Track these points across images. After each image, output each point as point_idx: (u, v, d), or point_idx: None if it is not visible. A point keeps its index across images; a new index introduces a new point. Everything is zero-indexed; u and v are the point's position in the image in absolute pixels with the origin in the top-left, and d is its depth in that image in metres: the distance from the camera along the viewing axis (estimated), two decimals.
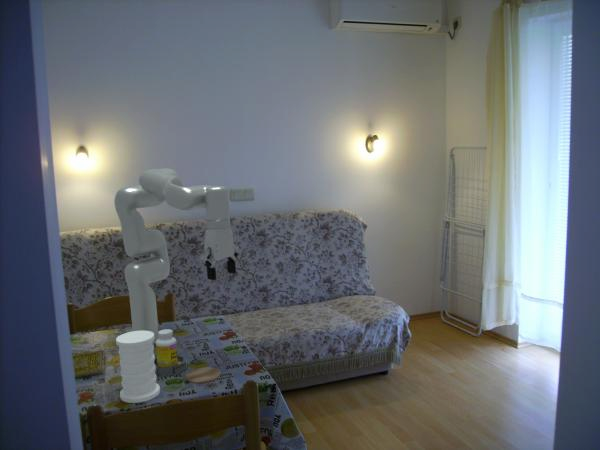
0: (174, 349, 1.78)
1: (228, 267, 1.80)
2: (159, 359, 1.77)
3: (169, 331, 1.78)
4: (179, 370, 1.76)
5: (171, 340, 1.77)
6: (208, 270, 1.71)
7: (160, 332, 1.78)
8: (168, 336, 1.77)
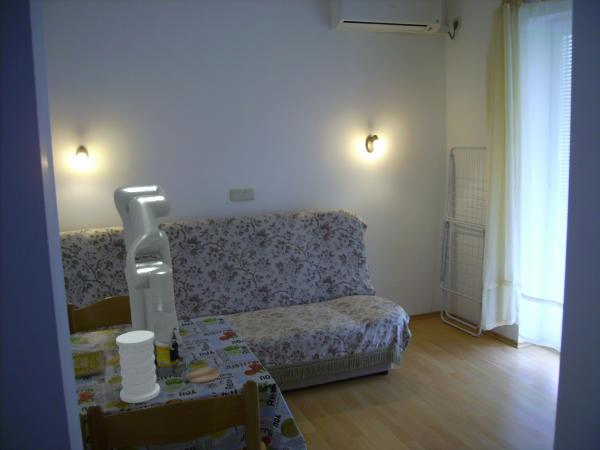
0: None
1: None
2: (159, 359, 1.77)
3: None
4: (179, 370, 1.76)
5: None
6: (175, 352, 1.76)
7: None
8: None
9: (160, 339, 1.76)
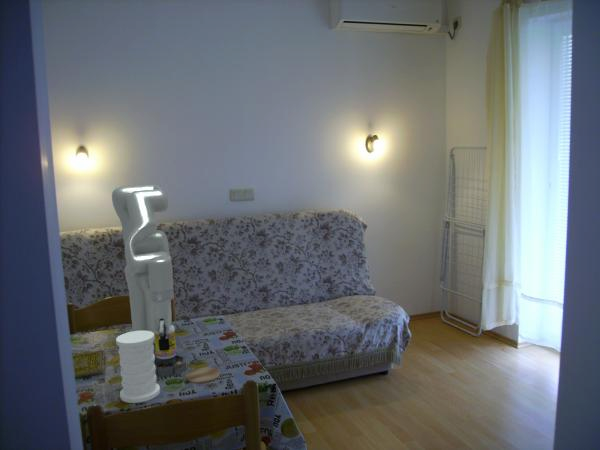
0: None
1: None
2: None
3: None
4: (179, 370, 1.76)
5: None
6: (162, 342, 1.75)
7: None
8: None
9: None
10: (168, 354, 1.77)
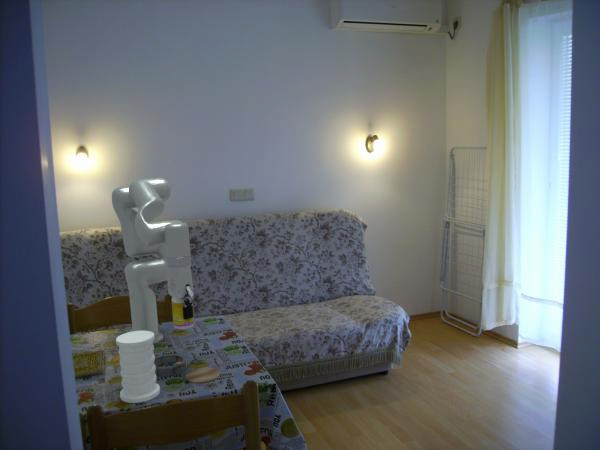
0: None
1: None
2: (173, 316, 1.71)
3: None
4: (179, 370, 1.76)
5: None
6: (188, 309, 1.69)
7: None
8: None
9: (174, 295, 1.70)
10: (190, 323, 1.71)
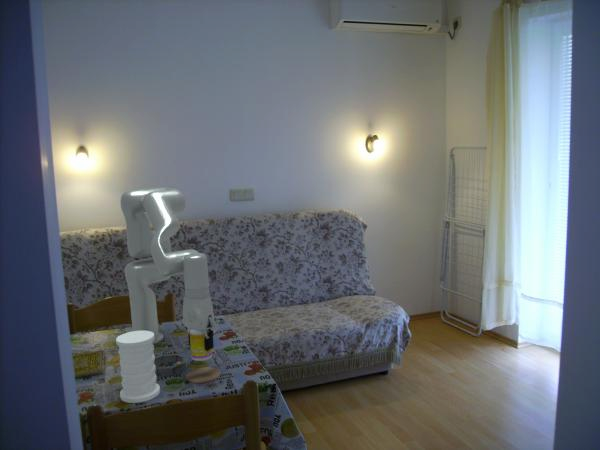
0: None
1: None
2: (193, 348, 1.69)
3: None
4: (179, 370, 1.76)
5: None
6: (210, 340, 1.68)
7: None
8: None
9: (194, 327, 1.68)
10: (210, 353, 1.70)
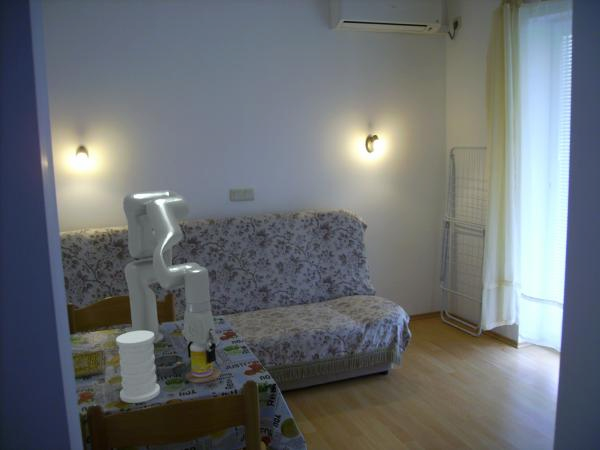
0: None
1: None
2: (194, 364, 1.70)
3: None
4: (179, 370, 1.76)
5: None
6: (212, 353, 1.68)
7: None
8: None
9: (195, 340, 1.68)
10: (211, 370, 1.72)
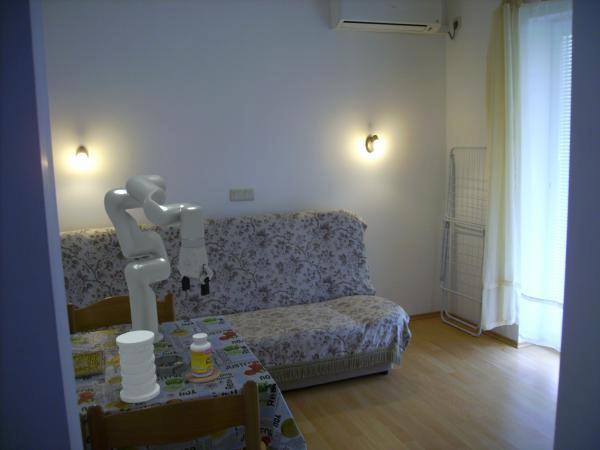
0: (209, 354, 1.71)
1: (184, 285, 1.83)
2: (194, 364, 1.70)
3: (204, 335, 1.71)
4: (179, 370, 1.76)
5: (206, 344, 1.70)
6: (206, 286, 1.77)
7: (195, 336, 1.70)
8: (203, 340, 1.70)
9: (189, 275, 1.77)
10: (211, 370, 1.72)
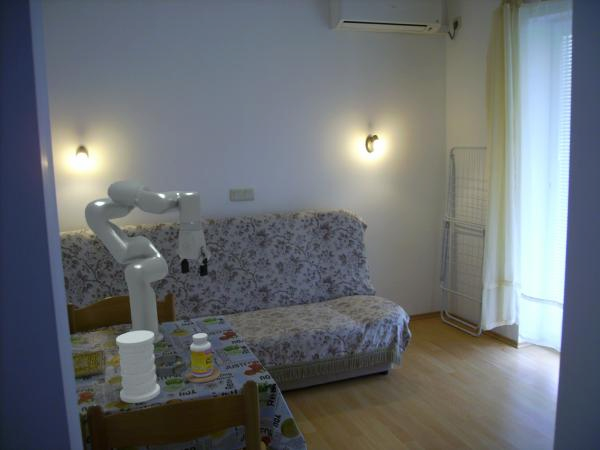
0: (209, 354, 1.71)
1: (183, 268, 1.93)
2: (194, 364, 1.70)
3: (204, 335, 1.71)
4: (179, 370, 1.76)
5: (206, 344, 1.70)
6: (204, 267, 1.87)
7: (195, 336, 1.70)
8: (203, 340, 1.70)
9: (188, 257, 1.88)
10: (211, 370, 1.72)
